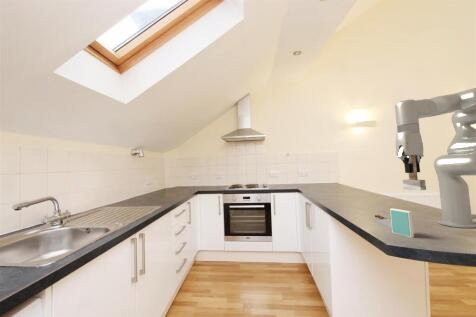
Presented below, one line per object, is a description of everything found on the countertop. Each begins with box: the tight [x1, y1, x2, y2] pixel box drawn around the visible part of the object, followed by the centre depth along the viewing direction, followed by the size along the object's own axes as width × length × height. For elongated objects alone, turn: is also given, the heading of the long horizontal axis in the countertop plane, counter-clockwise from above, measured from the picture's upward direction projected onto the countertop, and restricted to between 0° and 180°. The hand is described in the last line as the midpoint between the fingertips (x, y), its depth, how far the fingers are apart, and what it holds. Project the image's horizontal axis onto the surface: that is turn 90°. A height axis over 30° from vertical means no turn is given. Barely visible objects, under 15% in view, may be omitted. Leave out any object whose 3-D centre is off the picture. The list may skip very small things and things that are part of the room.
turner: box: [402, 156, 427, 191], centre depth 93 cm, size 3×7×16 cm, turn 15°
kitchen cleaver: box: [374, 214, 392, 229], centre depth 112 cm, size 24×1×10 cm
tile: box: [389, 207, 415, 239], centre depth 90 cm, size 2×8×10 cm, turn 15°
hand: (412, 172), depth 93 cm, fingers closed on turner, 2 cm apart
